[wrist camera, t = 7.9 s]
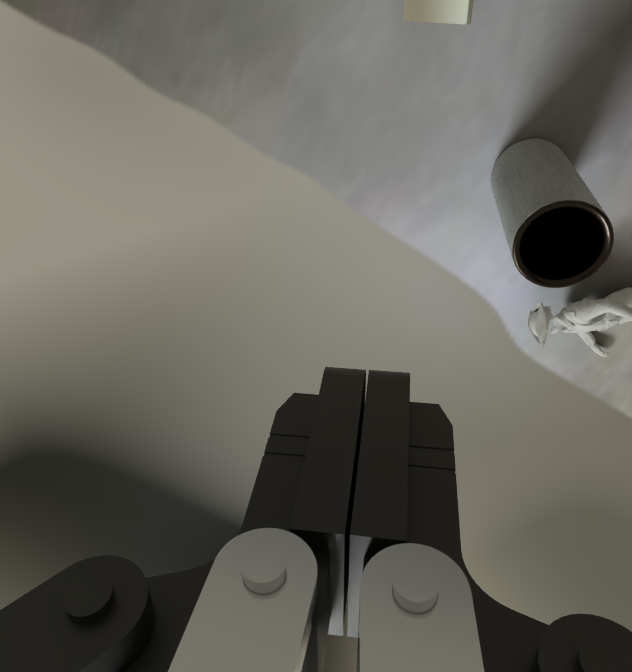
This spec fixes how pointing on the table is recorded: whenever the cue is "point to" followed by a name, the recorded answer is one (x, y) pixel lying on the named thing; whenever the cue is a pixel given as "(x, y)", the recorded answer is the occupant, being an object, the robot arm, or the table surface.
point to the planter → (549, 215)
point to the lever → (438, 11)
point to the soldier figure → (584, 317)
